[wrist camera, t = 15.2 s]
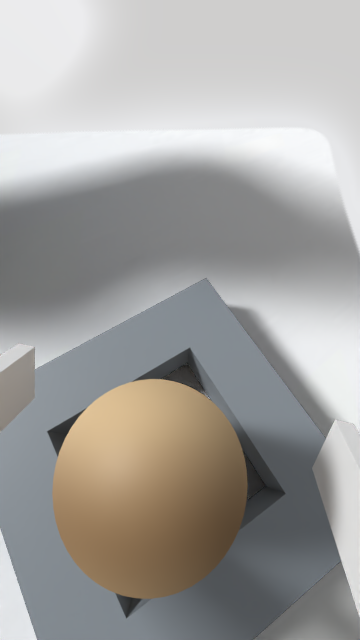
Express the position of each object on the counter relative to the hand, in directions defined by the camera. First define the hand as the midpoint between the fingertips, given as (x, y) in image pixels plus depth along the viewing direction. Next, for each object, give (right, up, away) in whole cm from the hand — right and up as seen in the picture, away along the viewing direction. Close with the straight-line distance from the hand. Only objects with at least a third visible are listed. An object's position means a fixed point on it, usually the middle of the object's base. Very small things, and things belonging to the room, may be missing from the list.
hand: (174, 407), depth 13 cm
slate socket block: (-1, -5, +6) cm, 8 cm away
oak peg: (-1, -5, +6) cm, 8 cm away
